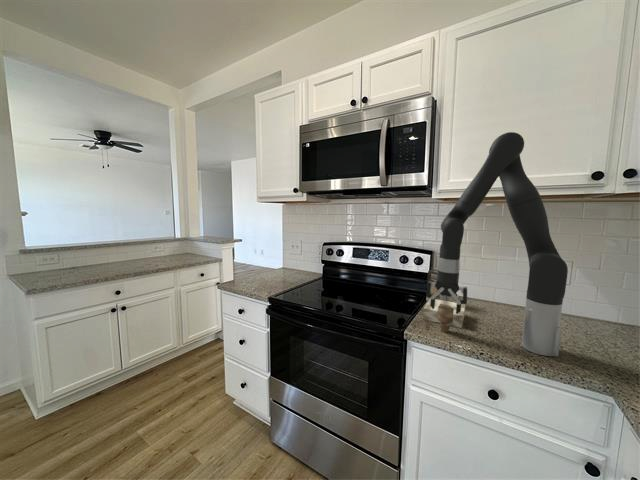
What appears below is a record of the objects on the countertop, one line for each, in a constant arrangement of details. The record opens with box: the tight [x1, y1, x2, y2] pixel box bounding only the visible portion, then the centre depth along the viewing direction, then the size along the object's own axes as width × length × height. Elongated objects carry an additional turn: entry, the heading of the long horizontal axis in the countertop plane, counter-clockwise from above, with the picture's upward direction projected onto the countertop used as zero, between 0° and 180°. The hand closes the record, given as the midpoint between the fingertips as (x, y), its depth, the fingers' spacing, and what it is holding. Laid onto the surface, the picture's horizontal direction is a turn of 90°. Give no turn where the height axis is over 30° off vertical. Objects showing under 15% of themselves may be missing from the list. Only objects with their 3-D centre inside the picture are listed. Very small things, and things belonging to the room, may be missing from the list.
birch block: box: [422, 299, 467, 329], centre depth 116 cm, size 15×16×5 cm
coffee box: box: [425, 269, 449, 302], centre depth 135 cm, size 9×6×16 cm
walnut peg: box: [438, 305, 454, 334], centre depth 102 cm, size 5×5×10 cm
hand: (444, 310), depth 102 cm, fingers open, 8 cm apart
